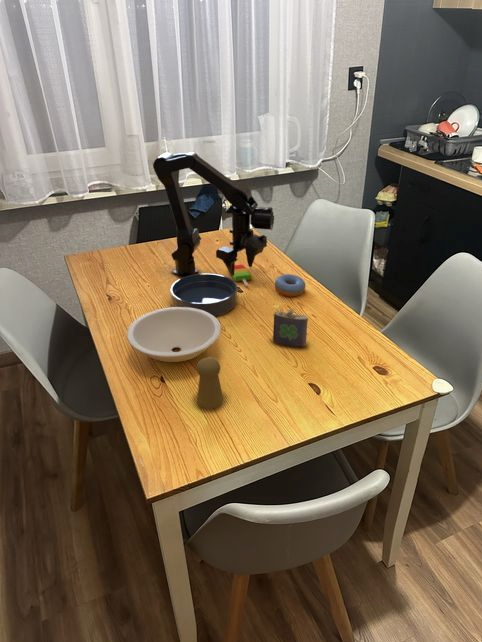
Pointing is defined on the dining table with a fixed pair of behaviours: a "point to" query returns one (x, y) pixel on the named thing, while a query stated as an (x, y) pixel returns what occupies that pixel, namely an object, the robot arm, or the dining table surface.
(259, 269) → the dining table surface
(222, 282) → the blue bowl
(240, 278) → the popsicle
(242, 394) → the dining table surface
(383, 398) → the dining table surface
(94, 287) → the dining table surface
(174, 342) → the grey bowl
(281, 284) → the doughnut
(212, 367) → the brown game pawn
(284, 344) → the flask
